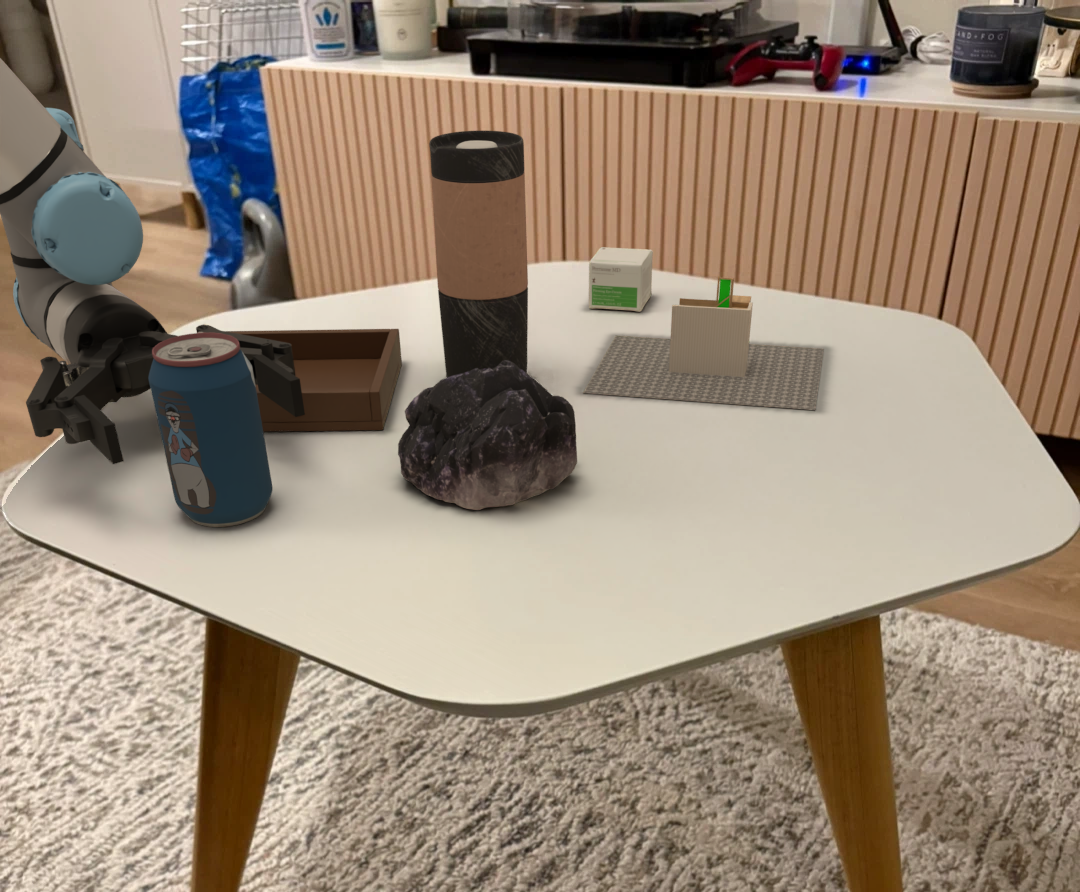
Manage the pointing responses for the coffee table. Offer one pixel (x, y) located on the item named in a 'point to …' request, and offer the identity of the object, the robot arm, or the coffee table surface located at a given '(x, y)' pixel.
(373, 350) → the tray
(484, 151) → the travel mug
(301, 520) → the coffee table surface
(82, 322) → the robot arm
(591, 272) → the small box
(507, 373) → the crystal cluster
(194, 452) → the soda can
